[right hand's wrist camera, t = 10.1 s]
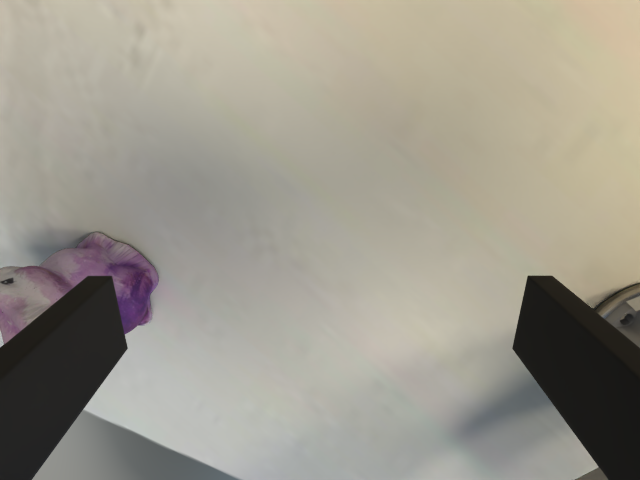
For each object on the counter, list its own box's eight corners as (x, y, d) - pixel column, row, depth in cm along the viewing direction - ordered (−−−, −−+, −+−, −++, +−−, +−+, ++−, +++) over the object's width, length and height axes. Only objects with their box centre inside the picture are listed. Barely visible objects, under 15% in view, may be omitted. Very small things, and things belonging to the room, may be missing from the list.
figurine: (60, 222, 40) (-81, 295, 26) (162, 238, 41) (78, 318, 27) (65, 303, 43) (-57, 406, 29) (159, 317, 44) (84, 424, 30)
